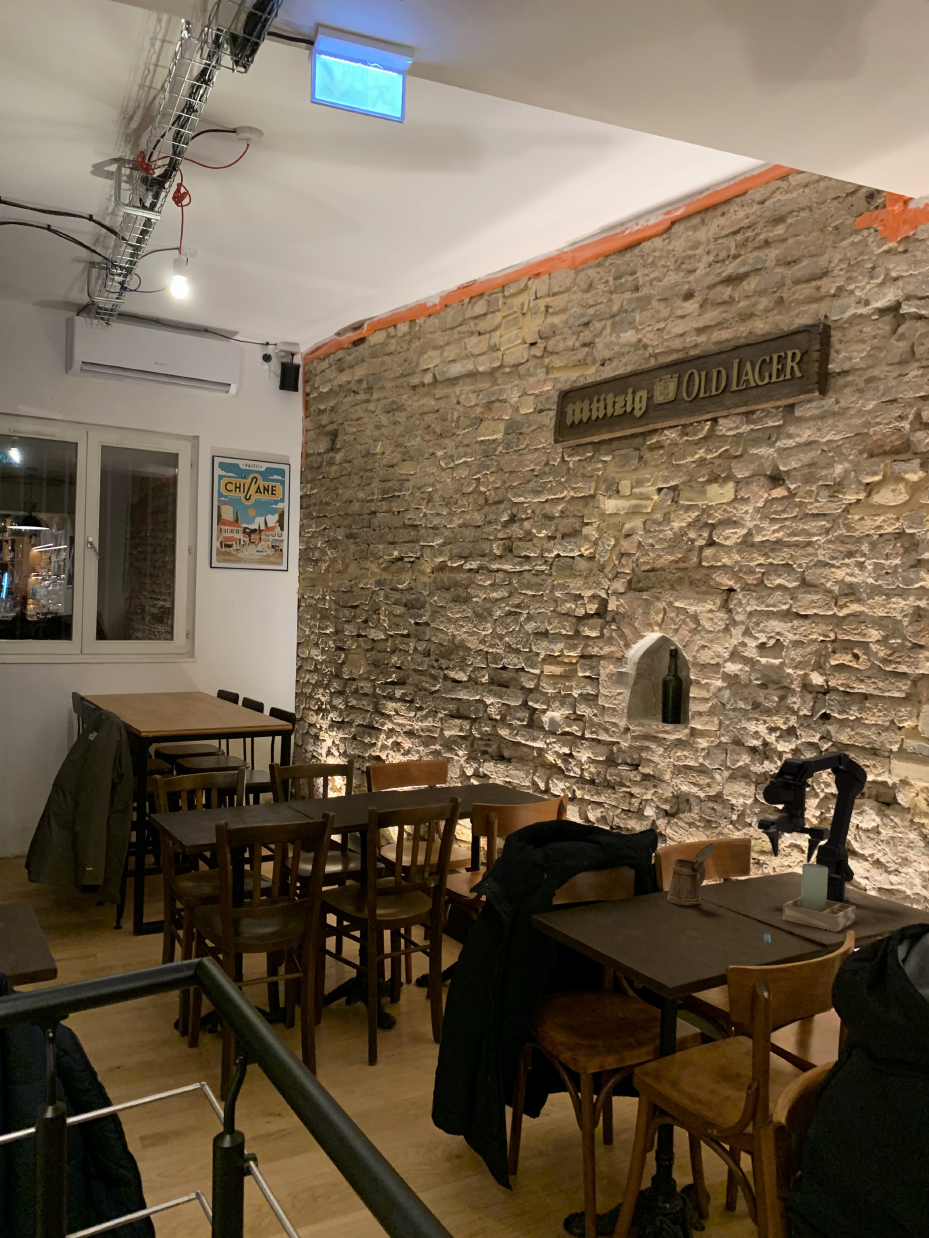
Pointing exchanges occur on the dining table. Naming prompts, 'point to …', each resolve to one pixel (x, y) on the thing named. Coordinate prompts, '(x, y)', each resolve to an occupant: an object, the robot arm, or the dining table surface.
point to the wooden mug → (689, 878)
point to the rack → (820, 915)
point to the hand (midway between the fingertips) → (791, 859)
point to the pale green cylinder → (814, 887)
